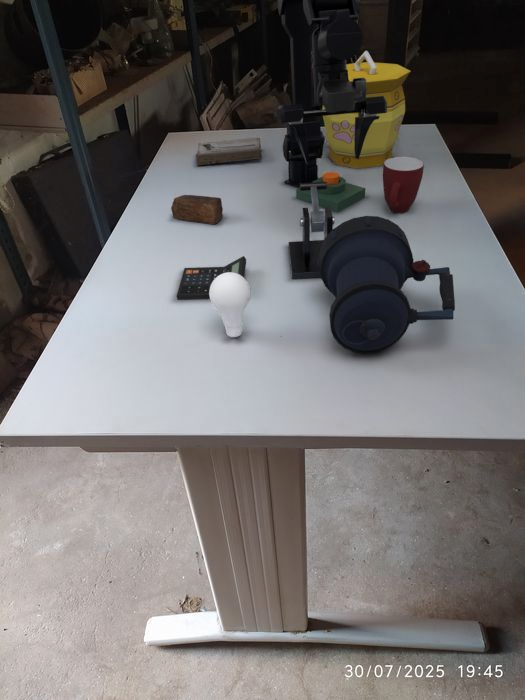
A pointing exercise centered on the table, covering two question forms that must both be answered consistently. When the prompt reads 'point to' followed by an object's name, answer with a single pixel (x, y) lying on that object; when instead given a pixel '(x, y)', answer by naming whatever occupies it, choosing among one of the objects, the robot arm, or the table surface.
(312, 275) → the bracket
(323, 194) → the button block
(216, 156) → the box
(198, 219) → the brick
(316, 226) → the lever
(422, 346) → the table surface
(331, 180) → the button
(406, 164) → the mug
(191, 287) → the calculator
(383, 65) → the container
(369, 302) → the flashlight
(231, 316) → the lightbulb
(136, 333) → the table surface
